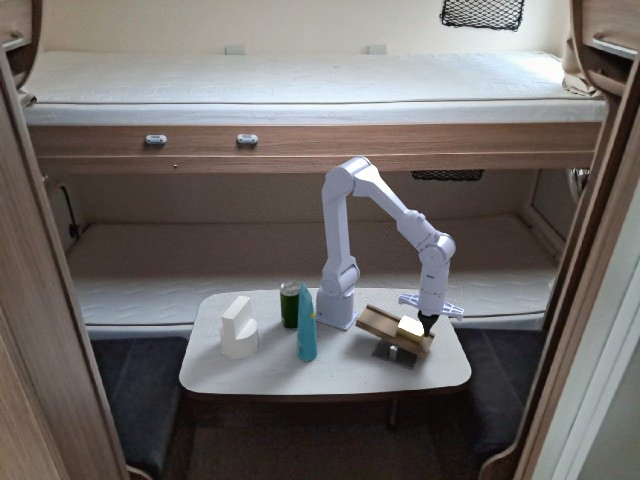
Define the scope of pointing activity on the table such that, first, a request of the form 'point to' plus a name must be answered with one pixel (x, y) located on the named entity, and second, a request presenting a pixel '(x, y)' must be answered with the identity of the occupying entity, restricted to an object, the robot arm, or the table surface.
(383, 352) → the beam stand
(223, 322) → the base with upright slab
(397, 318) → the beam
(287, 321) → the beer can
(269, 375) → the table surface
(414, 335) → the rider
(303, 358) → the tube
